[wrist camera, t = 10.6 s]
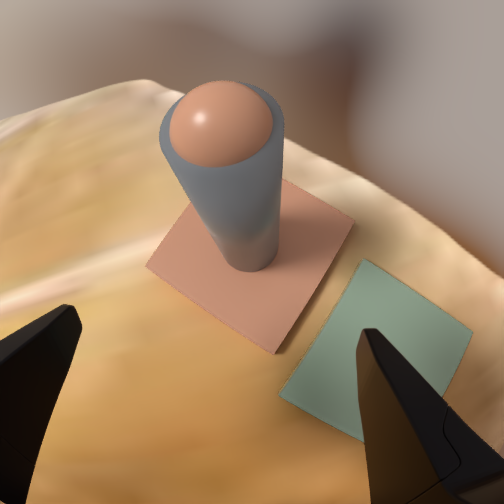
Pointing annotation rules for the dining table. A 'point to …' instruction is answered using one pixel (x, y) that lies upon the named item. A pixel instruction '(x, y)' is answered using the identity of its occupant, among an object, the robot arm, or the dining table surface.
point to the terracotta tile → (260, 282)
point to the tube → (230, 166)
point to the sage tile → (392, 327)
